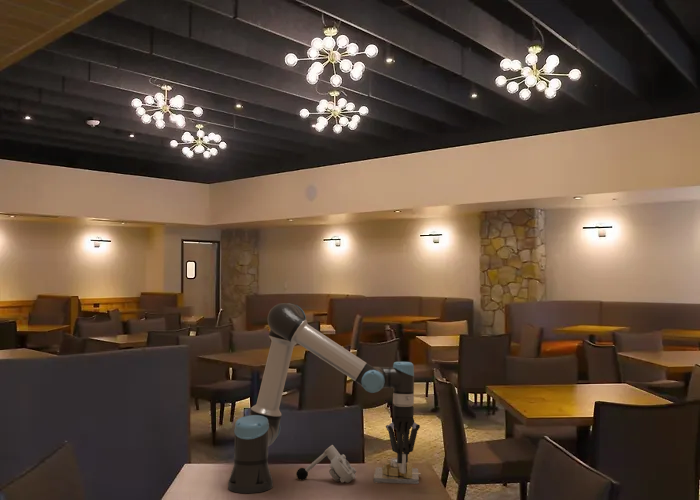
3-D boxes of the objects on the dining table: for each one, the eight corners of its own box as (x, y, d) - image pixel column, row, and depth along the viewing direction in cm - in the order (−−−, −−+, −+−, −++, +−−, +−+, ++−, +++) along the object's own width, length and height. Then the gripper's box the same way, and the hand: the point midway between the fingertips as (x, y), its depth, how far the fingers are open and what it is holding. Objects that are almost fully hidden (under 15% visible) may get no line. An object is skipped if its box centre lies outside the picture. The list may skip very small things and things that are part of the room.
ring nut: (378, 471, 226) (377, 457, 226) (400, 468, 231) (400, 455, 231) (397, 479, 214) (397, 465, 214) (421, 476, 218) (421, 462, 219)
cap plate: (373, 482, 217) (373, 463, 217) (376, 471, 232) (376, 453, 233) (420, 483, 215) (420, 464, 216) (420, 472, 231) (420, 454, 231)
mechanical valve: (354, 478, 212) (328, 442, 216) (315, 510, 212) (290, 475, 217) (359, 473, 222) (334, 439, 226) (323, 504, 222) (298, 470, 226)
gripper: (391, 407, 214) (390, 476, 211) (423, 406, 219) (423, 473, 216) (382, 404, 221) (381, 471, 218) (414, 403, 226) (413, 468, 223)
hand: (402, 472), depth 217 cm, fingers closed
